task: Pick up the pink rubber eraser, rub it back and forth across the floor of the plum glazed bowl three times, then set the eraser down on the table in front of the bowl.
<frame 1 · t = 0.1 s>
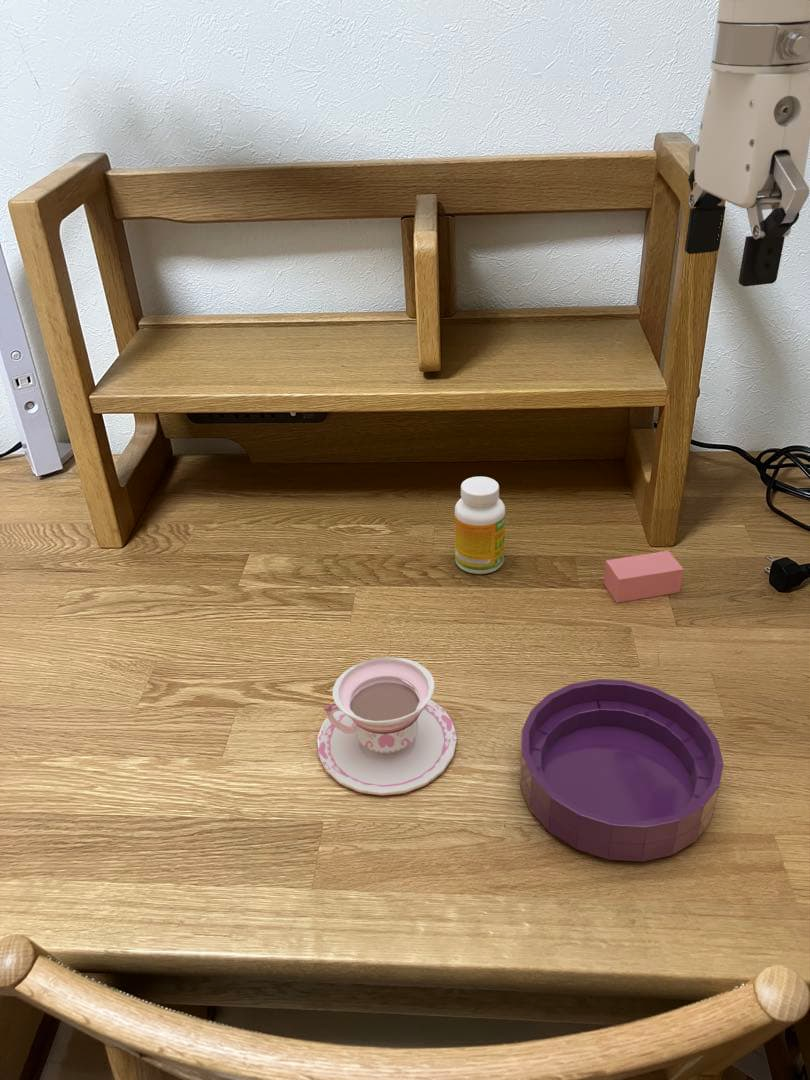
hand: (727, 267, 79), 32 cm above the table, tool pointing down, fingers open, 9 cm apart
eraser: (641, 587, 94), on the table
supplement bottle: (479, 562, 99), on the table
bowl: (614, 785, 72), on the table
teacup: (387, 744, 77), on the table
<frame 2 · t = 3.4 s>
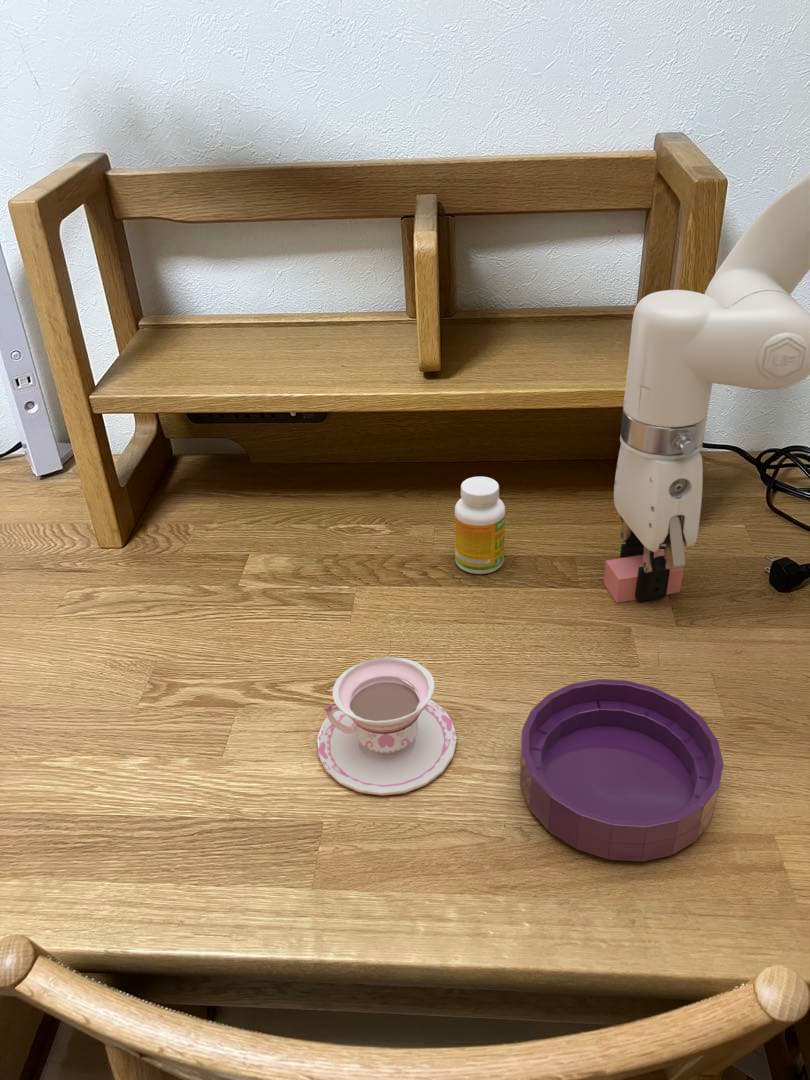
hand: (641, 584, 94), 0 cm above the table, tool pointing down, fingers closed on eraser, 3 cm apart
eraser: (641, 587, 94), on the table, touching gripper
everything else where it was.
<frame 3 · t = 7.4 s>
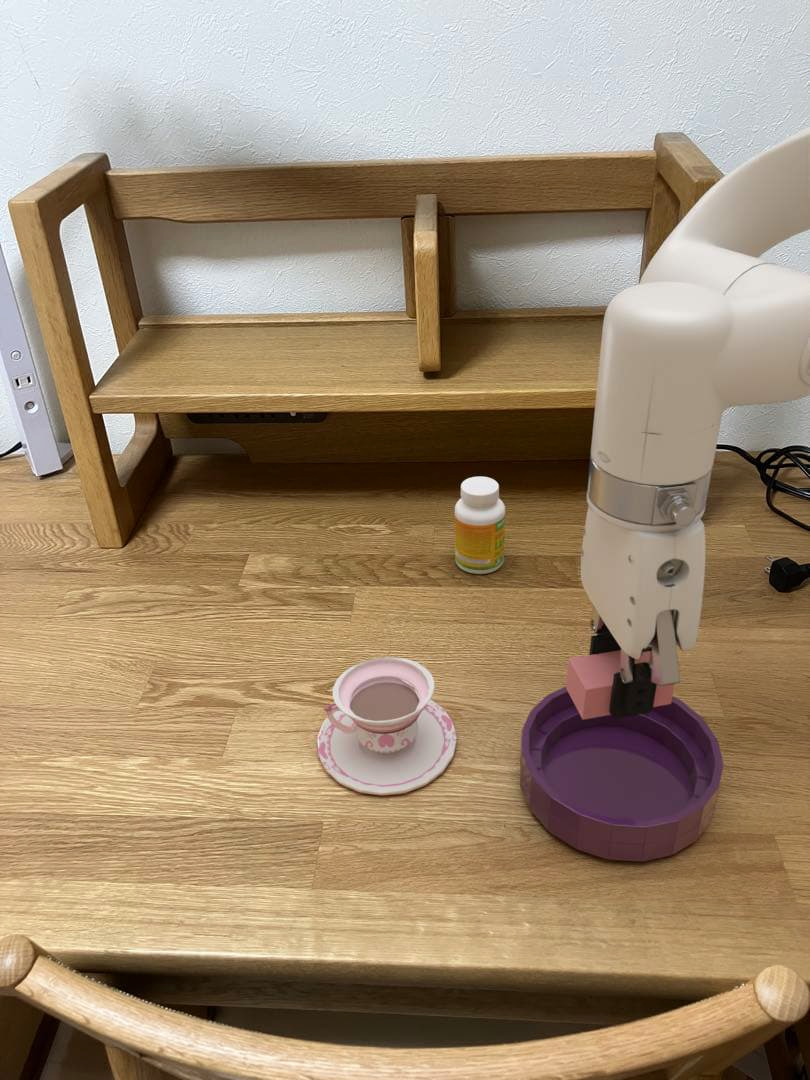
hand: (619, 691, 68), 10 cm above the table, tool pointing down, fingers closed on eraser, 3 cm apart
eraser: (617, 696, 68), point 9 cm above the table, touching gripper
everything else where it was.
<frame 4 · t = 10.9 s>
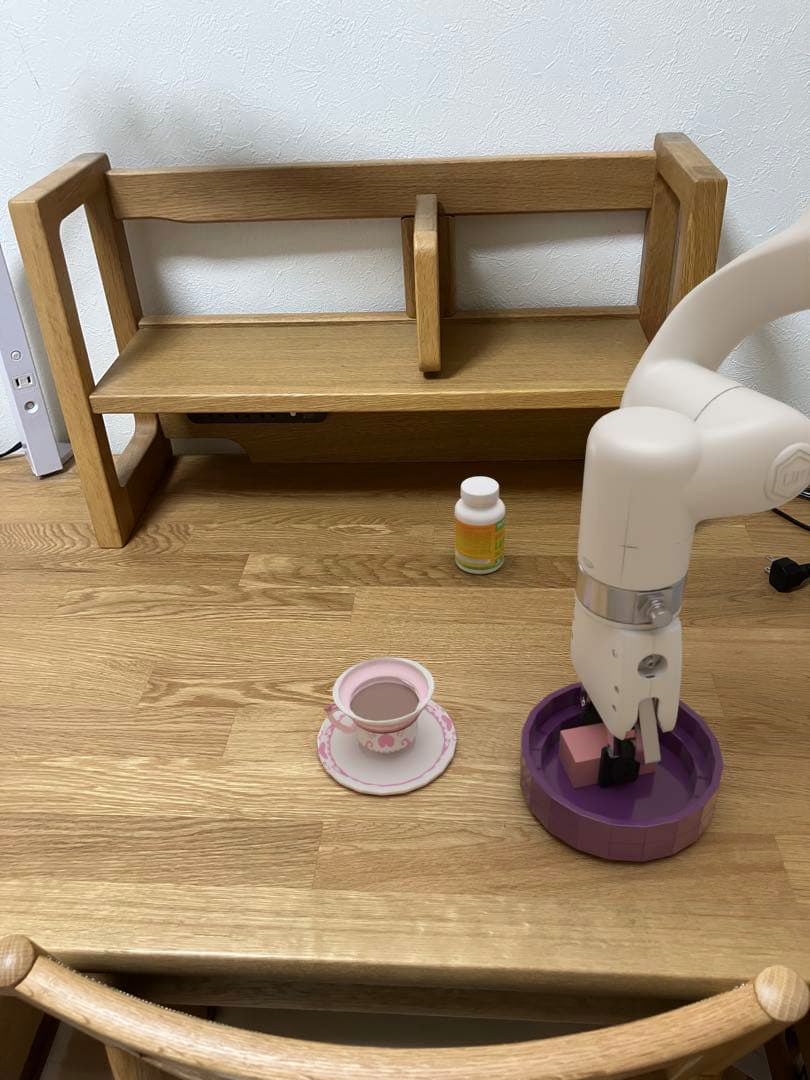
hand: (607, 760, 73), 1 cm above the table, tool pointing down, fingers closed on eraser, 3 cm apart
eraser: (606, 764, 73), point 1 cm above the table, touching gripper
everything else where it was.
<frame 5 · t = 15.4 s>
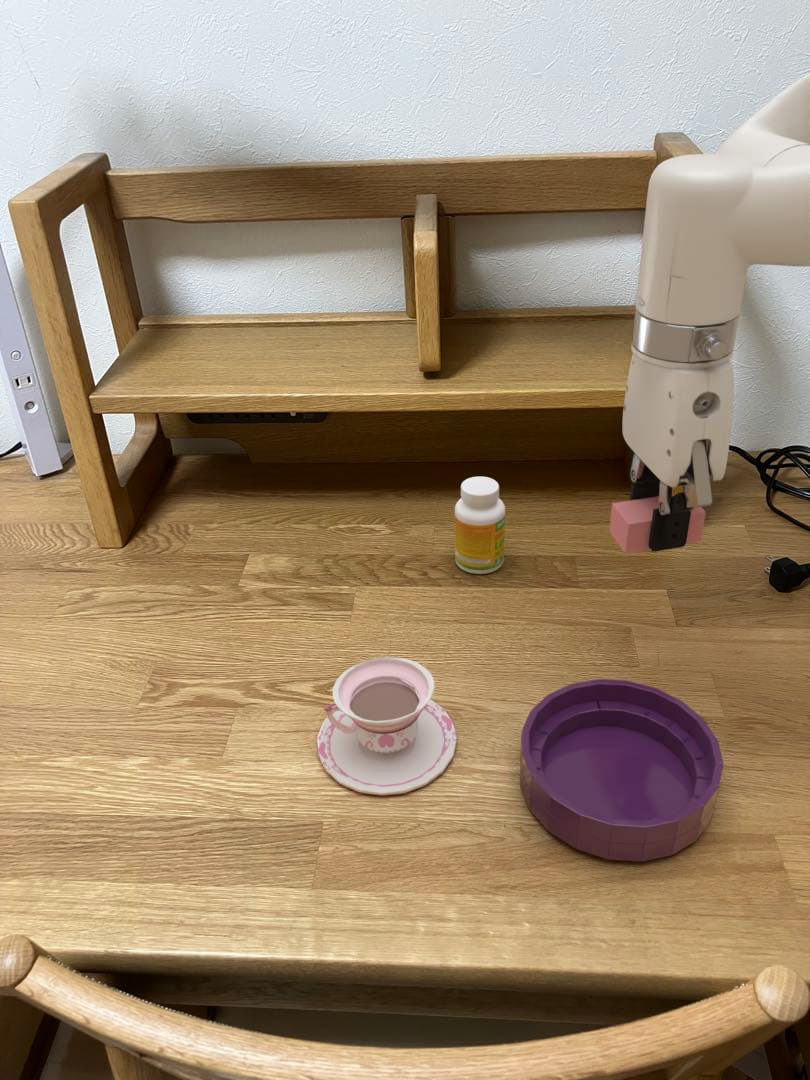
hand: (655, 532, 78), 14 cm above the table, tool pointing down, fingers closed on eraser, 3 cm apart
eraser: (654, 536, 78), point 13 cm above the table, touching gripper
everything else where it was.
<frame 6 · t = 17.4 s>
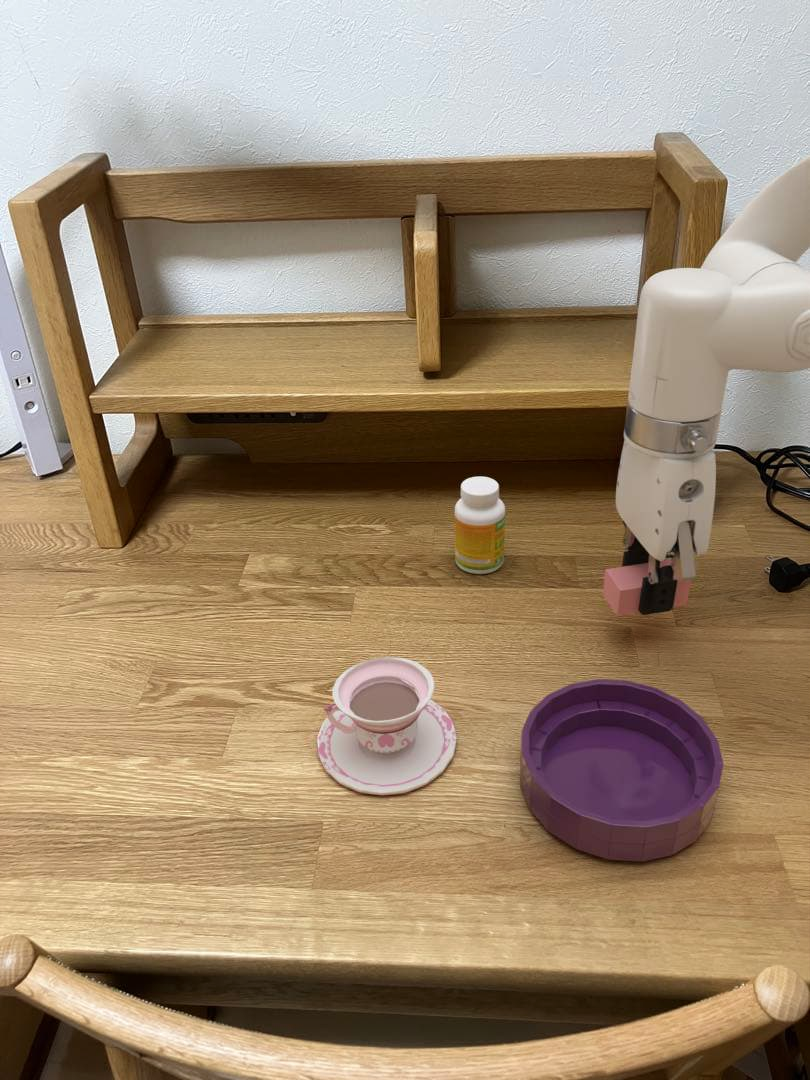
hand: (645, 596, 85), 5 cm above the table, tool pointing down, fingers closed on eraser, 3 cm apart
eraser: (644, 599, 85), point 4 cm above the table, touching gripper
everything else where it was.
when the fingers open (0 cm above the table, at t = 18.7 s): eraser stays where it is, on the table.
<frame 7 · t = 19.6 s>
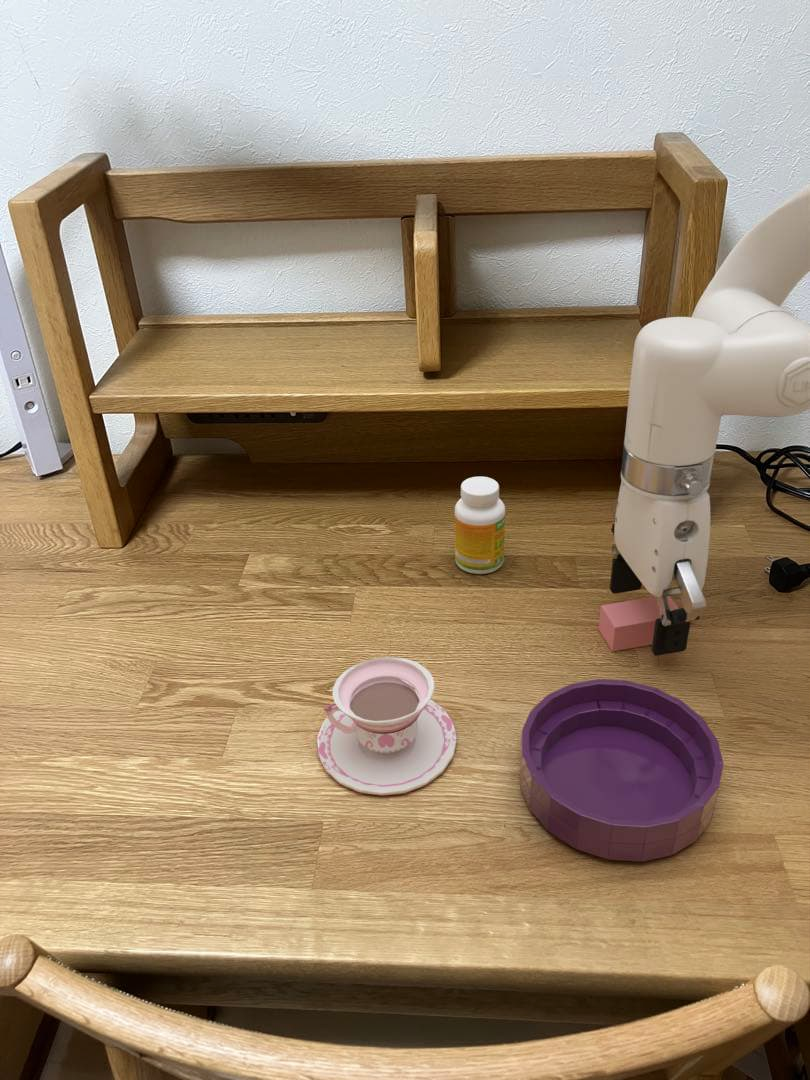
hand: (645, 619, 87), 2 cm above the table, tool pointing down, fingers open, 9 cm apart
eraser: (638, 634, 88), on the table
everything else where it was.
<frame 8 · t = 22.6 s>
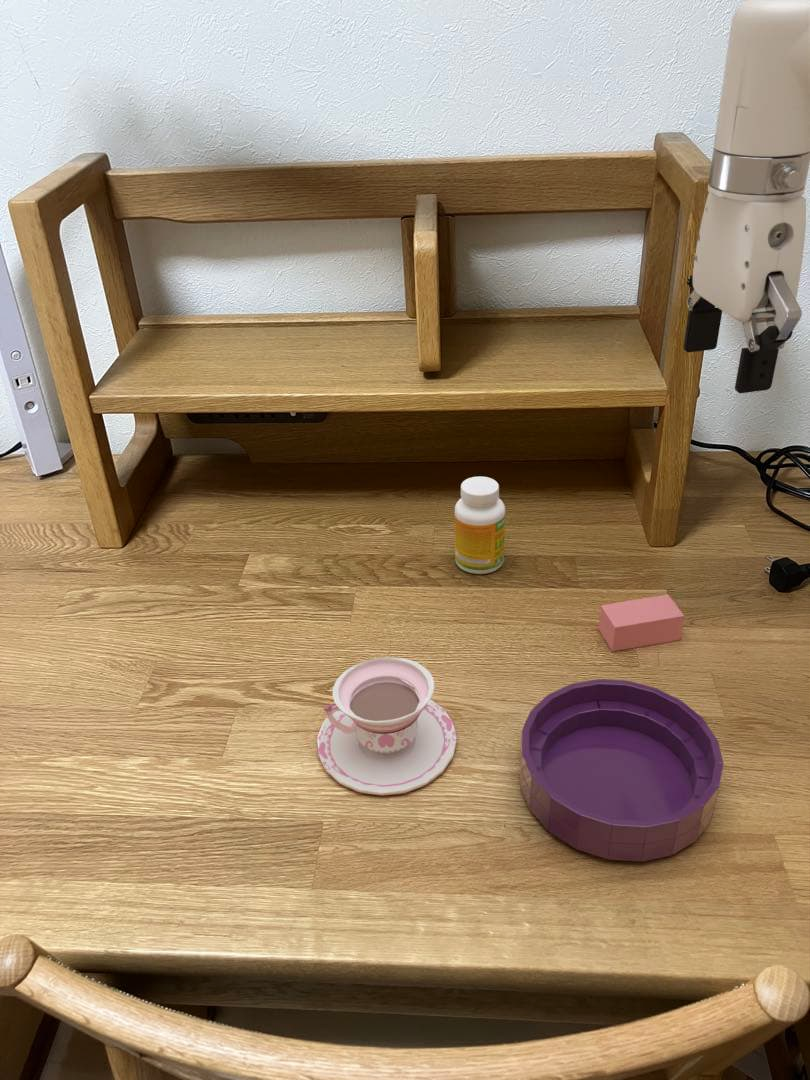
hand: (724, 369, 83), 23 cm above the table, tool pointing down, fingers open, 9 cm apart
nothing on the table moved.
at the end: eraser inside the target area on the table beside the bowl (0.4 cm from its centre), on the table; the gripper is holding nothing; eraser tilted 0° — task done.
